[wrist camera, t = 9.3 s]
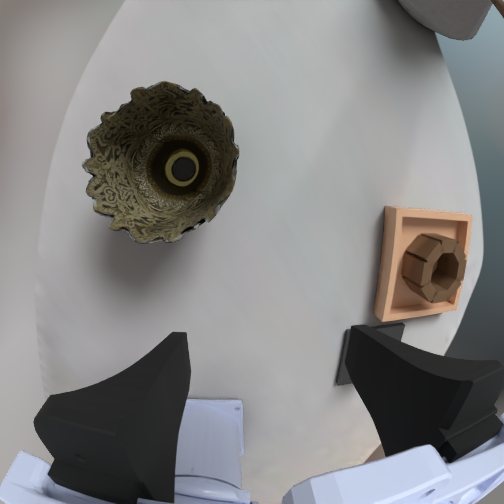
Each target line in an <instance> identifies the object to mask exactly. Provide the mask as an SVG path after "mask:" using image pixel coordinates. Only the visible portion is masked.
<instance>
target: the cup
mask: <svg viewBox="0 0 504 504" xmlns="http://www.w3.org/2000/svg"><path fill="white" fill-rule="evenodd" d="M130 95H131V98H132V100H131V101H129V102H128V103H126V104H122V105H121V106H120V108H119V109H118V110H117V111H116V112H104V113H103V114H102V115H101V121H102V123H101V124H100V125H98V126H96V127H95V128H93V129H91V130H90V131H89V132H88V136H87V145H88V148H89V149H90V153H91V154H90V156H91V157H90V158H89V159H86V160H85V161H84V162H83V163H82V166H83V168H84V169H85V171H86V172H87V173H90V174H91V175H93V177H92V178H91V179H90V180H89V181H88V182H89V184H88V186H87V188H86V193H87V195H88V196H90V197H92V199H93V200H94V202H93V209H94V211H95V212H96V213H98V214H99V215H102V216H105V217H111V218H112V222H111V223H109V228H110V229H112V230H114V231H120V230H124V231H126V232H127V233H128V234H129V236H130V238H131V239H133V240H134V241H135V242H137V243H141V244H145V243H154V242H158V241H165V242H167V243H172V242H176V241H178V240H180V239H181V238H182V236H183V235H184V234H185V233H187V232H189V231H191V230H194V229H196V228H197V227H199V226H200V225H201V224H203V223H204V222H210V221H211V220H212V219H213V218H214V217H215V216H216V215H217V213H218V212H219V210H220V208H221V206H222V205H223V204H224V202H225V201H226V200H227V199H228V197H229V196H230V194H231V192H232V190H233V187H234V185H235V180H236V173H237V168H236V167H237V159H238V157H239V147H238V146H237V145H236V144H235V143H234V129H233V126H232V123H231V121H230V119H229V118H228V116H225V113H224V112H223V111H222V109H221V107H220V106H219V105H217V104H215V103H213V102H211V101H208V102H207V101H206V99H205V97H204V95H203V94H202V93H201V92H200V91H199V90H197V89H196V88H194V89H192V90H191V91H189V90H186V89H184V88H182V87H181V86H180V85H177V84H174V83H170V82H166V81H162V82H158V83H156V84H155V85H153V86H150V87H148V88H147V89H146V88H144V87H138V88H135V89H133V90H132V91H131V93H130ZM180 158H188V159H190V160H192V162H193V163H194V165H195V172H194V174H193V176H192V177H191V178H190V179H188V180H179V179H177V178H176V177H175V176H174V174H173V171H172V168H173V165H174V163H175V162H176V161H177V160H178V159H180Z"/></svg>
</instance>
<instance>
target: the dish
mask: <svg viewBox="0 0 504 504" xmlns="http://www.w3.org/2000/svg"><path fill="white" fill-rule="evenodd" d="M471 224H472V215H469V214H465V213H459V212H450V211H440V210H430V209H418V208H406V207H393V206H385V217H384V231H383V243H382V253H381V262H380V270H379V277H378V285H377V291H376V298H375V304H374V310H373V313H374V314H375V315H376V316H377V317H378V318H379V319H380V320H381V321H382V322H385V321H393V320H400V319H407V318H413V317H420V316H426V315H432V314H438V313H443V312H449V311H454V310H457V306H458V302H459V297H460V293H461V289H462V284H463V281H460V282H461V285H460V287H459V288H458V289H457V291H456V292H455V293H454V294H453V296H452V297H451V298H450V299H448V298H447V301H446V302H440V303H434V304H432V303H429V302H428V301H427V300H425V299H424V298H422V297H421V296H419V295H418V294H416V293H415V292H413V291H412V290H411V289H410V288H409V287H408V285H407V284H406V282H405V281H404V280H403V278H402V277H403V276H404V275H402V274H401V272H402V265H403V256H404V253H407V251H406V248H407V247H408V246H409V245H410V244H411V243H412V241H413V240H414V239H415V238H416V237H417V235H421V233H436V234H439V235H442V236H445V237H449V238H452V239H455V240H457V241H458V242H460V244H461V247H462V249H463V251H464V253H465V255H466V258H465V260H467V256H468V250H469V242H470V234H471ZM437 261H438V260H437ZM437 261H436V262H435V264H434V265H433V269H432V273H433V272H434V271H435V270H436V268H437ZM466 262H467V261H466ZM465 268H466V267H465ZM464 274H465V273H464Z"/></svg>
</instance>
